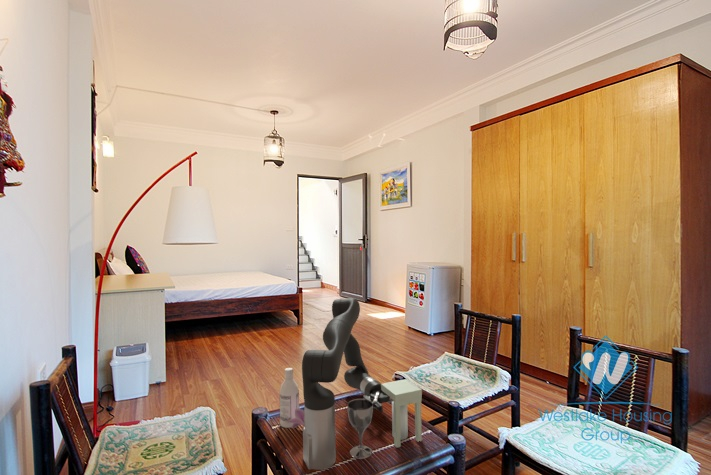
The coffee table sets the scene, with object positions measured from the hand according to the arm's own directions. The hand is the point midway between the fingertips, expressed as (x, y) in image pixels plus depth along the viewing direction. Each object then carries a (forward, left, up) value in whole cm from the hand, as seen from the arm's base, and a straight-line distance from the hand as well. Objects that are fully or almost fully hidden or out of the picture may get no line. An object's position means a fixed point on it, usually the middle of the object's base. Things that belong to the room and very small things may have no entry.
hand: (392, 406), depth 128 cm
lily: (-29, +11, -8) cm, 32 cm away
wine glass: (-16, -8, -8) cm, 20 cm away
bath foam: (-33, +19, -8) cm, 38 cm away
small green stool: (0, -6, -7) cm, 10 cm away
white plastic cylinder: (0, -5, -7) cm, 9 cm away
